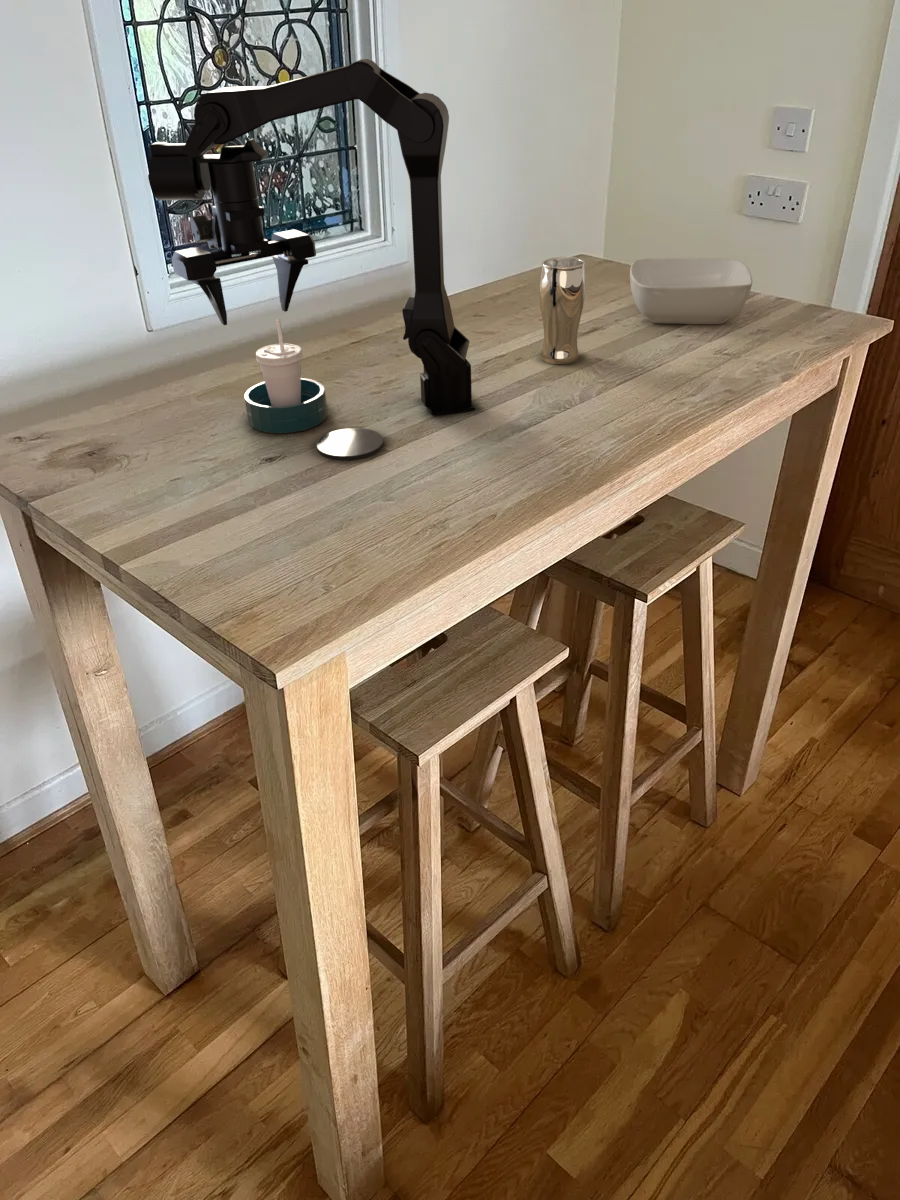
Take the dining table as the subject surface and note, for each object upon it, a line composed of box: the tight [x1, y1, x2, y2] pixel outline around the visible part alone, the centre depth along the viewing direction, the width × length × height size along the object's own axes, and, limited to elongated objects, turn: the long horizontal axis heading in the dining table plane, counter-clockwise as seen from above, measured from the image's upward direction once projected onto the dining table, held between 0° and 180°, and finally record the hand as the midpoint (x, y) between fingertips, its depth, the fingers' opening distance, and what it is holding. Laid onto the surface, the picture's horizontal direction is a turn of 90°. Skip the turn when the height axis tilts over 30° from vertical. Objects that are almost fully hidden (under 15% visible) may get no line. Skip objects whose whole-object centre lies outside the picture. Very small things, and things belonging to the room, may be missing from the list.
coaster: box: [315, 427, 385, 461], centre depth 122 cm, size 9×9×1 cm
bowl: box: [629, 257, 753, 325], centre depth 162 cm, size 20×20×8 cm
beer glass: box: [539, 256, 586, 365], centre depth 143 cm, size 7×7×15 cm
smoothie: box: [255, 318, 304, 406], centre depth 127 cm, size 6×6×14 cm
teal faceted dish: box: [243, 377, 328, 434], centre depth 130 cm, size 11×11×4 cm
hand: (255, 317), depth 128 cm, fingers open, 9 cm apart
